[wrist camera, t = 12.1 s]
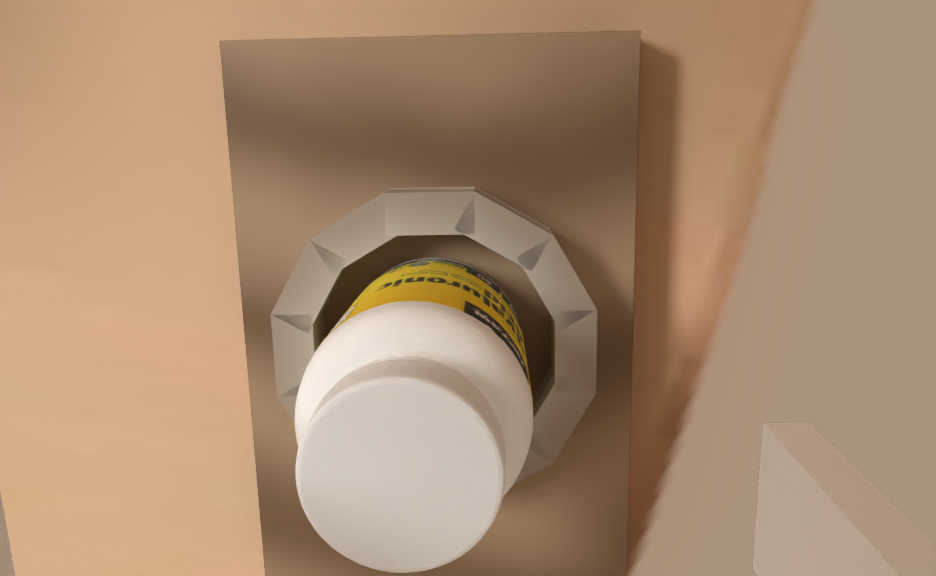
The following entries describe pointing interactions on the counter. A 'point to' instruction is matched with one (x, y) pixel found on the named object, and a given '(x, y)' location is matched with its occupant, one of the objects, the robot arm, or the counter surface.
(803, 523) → the robot arm
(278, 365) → the mount board
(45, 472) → the counter surface
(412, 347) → the supplement bottle
